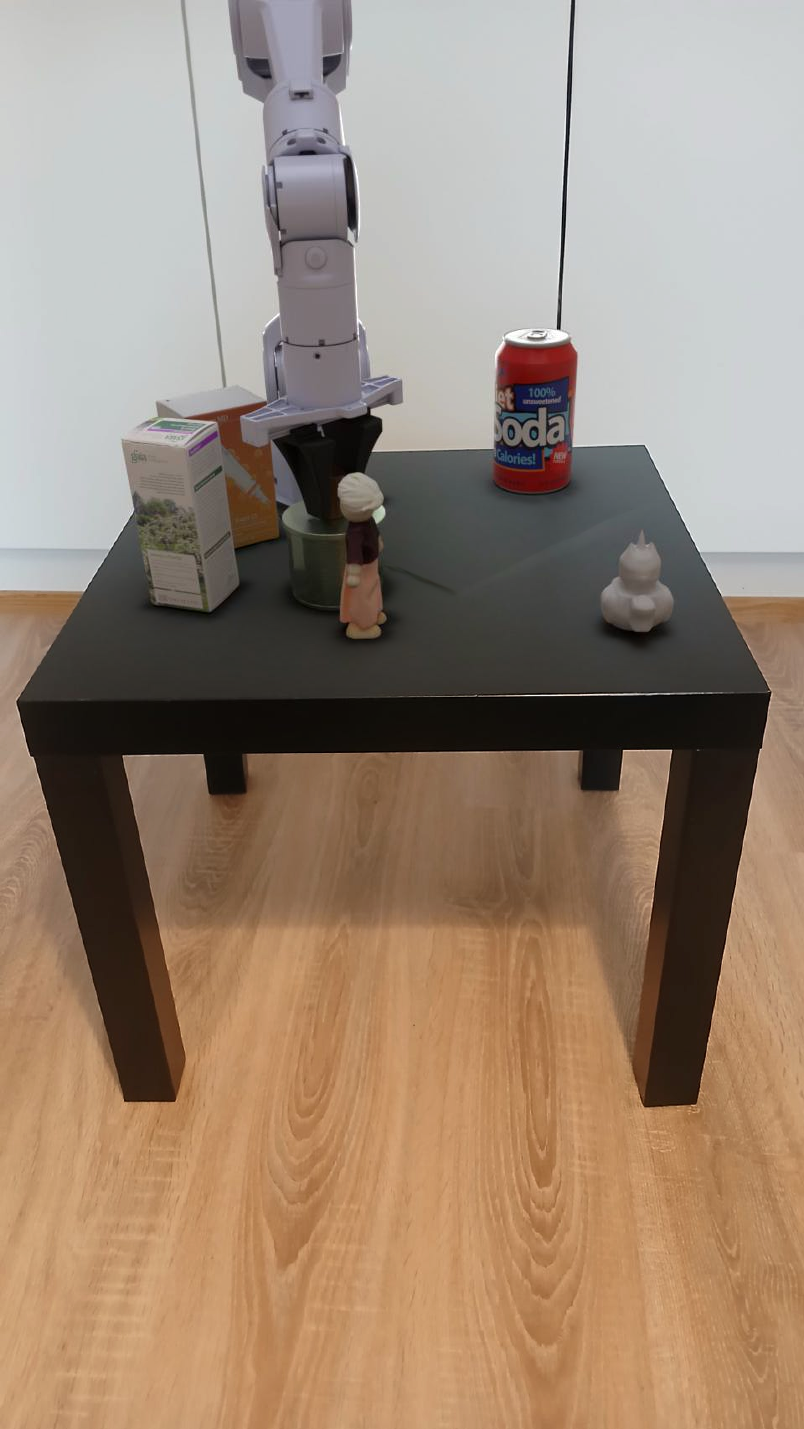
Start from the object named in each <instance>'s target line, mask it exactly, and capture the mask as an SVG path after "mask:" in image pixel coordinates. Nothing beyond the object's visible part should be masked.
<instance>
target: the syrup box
mask: <svg viewBox="0 0 804 1429" xmlns="http://www.w3.org/2000/svg"><path fill="white" fill-rule="evenodd" d="M120 440H121V448H122V454H123V460H124V463H125V469H126V474H127V480H128V486H129V490H130V495H131V501H132V505H133V512H134V518H135V522H136V528H137V534H138V538H139V544H140V550H141V555H142V560H143V565H144V570H145V575H146V580H147V586H148V592H149V598H150V602H151V604H152V605H153V606H160V607H161V606H162V607H168V608H169V607H170V608H174V609H175V608H176V609H181V610H182V609H183V610H189V611H196V612H202V613H203V612H204V613H211V612H213V611H214V610H215V609H216V608H217V607H219V605H221V604H222V603H223V602H224V601H225V600H226V599H227V598H228V597H229V596H230V595H231V594H232V593H234V591H235V590H236V589H237V588H238V587H239V586H240V576H239V570H238V564H237V558H236V552H235V548H234V544H233V537H232V529H231V521H230V514H229V506H228V498H227V490H226V482H225V473H224V464H223V457H222V449H221V441H220V435H219V428H218V423H217V422H212V421H200V420H188V419H176V418H162V417H158V416H155V417H152V418H150V419H148V420H146V421H144V422H142V423H140V424H139V425H137V426H136V427H134V428H133V429H131V430H130V431H129V432H127V433H126V434H125V435H124V436H122V437H121V438H120Z"/></svg>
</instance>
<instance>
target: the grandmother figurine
mask: <svg viewBox="0 0 804 1429" xmlns="http://www.w3.org/2000/svg"><path fill="white" fill-rule="evenodd" d="M338 497H339V498H340V508H341V512H342V514H343V515H344V516H345V518H346V519H348V520H350V521H349V524H348V528H347V531H346V535H345V541H346V550H347V563H346V567H345V572H344V580H343V586H342V592H341V603H340V611H339V622H340V623H343V624H346V623H348V625H347V628H346V632H345V634H346V637H348V639H349V638H350V639H353V640H363V639H365V640H366V639H367V640H368V639H376V638H378V637H380V636H381V635H382V630H381V628H380V626H379V625H382V624H385V623H386V621H387V616H386V614H385V613H384V612H382V610H383V608H384V606H383V595H382V593H381V588H380V579H379V575H378V555H379V552H381V551H382V552H383V550H384V543H383V542H382V536H381V537H380V531H379V529H378V527H377V524H376V522H375V519H374V518H373V516H372V514H373V512H374V510H377V509H378V508H380V506H381V505H382V506H383V503H384V500H385V499H384V495H383V492H382V491H381V489H380V487H379V485H378V482H377V481H376V480H374V479H373V478H371V477H370V476H369V475H366V474H365V473H364V474H362V473H359V472H358V473H352V474H348V475H347V476H346V477H344V478H343V479H342V480H341V482H340V483H339V484H338Z"/></svg>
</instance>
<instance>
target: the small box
mask: <svg viewBox="0 0 804 1429" xmlns="http://www.w3.org/2000/svg"><path fill="white" fill-rule="evenodd" d="M266 405H267V399H265V398H263V397H262V396H259V395H258V394H255V393H253V392H252V391H250V390H247V389H245V388H244V387H243V386H240V385H238V384H234V385H229V386H226V387H219V388H215V389H210V390H209V389H208V390H202V391H197V392H193V393H192V392H191V393H188V394H185V395H181V396H176V397H175V396H174V397H171V398H165V399H160V400H159V399H158V400H156V401H155V407H156V413H157V417H162V418H176V419H188V420H200V421H212V422H217V423H218V428H219V435H220V441H221V449H222V457H223V464H224V473H225V482H226V490H227V498H228V506H229V514H230V521H231V529H232V537H233V544H234V549H237V548H242V547H245V546H248V545H253V544H257V543H261V542H264V541H268V540H274V539H278V538H279V537H280V529H279V519H278V518H279V516H278V507H277V501H276V493H275V482H274V472H273V461H272V450H271V440H269V444H268V445H265V446H262V447H256V446H253V445H250V444H247V443H245V442H243V440H242V431H241V422H240V416H243V415H246V414H249V413H252V412H254V411H257V410H259V409H261V408H263V407H265V406H266Z"/></svg>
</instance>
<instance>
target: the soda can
mask: <svg viewBox="0 0 804 1429" xmlns="http://www.w3.org/2000/svg"><path fill="white" fill-rule="evenodd" d="M494 356H495V357H494V397H493V400H494V401H493V402H494V403H493V454H492V456H493V457H492V458H493V459H492V460H493V461H492V462H493V463H492V470H493V471H492V477H493V481H494V482H495V484H496V485H497V486H498V487H500V488H501V489H503V490H506V491H508V492H511V493H515V494H522V495H543V494H544V495H545V494H550V493H554V492H557V491H560V490H561V489H564V488H565V487H566V486H567V485H568V484H569V483H570V481H571V478H572V461H573V444H574V428H575V413H576V412H575V410H576V397H577V396H576V394H577V379H578V378H577V377H578V362H579V360H578V359H579V354H578V351H577V349H576V348H575V346H574V344H573V343H572V334H571V332H568V331H566V330H562V329H557V328H549V327H526V328H518V329H515V330H514V329H513V330H510V331H507V332H505V333H504V334H503V335H502V343H501V345H500V346H499V347H498V349H497V350H496V352H495V355H494Z"/></svg>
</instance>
